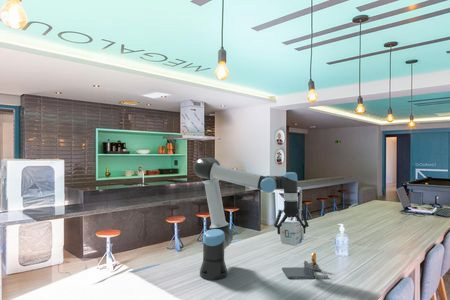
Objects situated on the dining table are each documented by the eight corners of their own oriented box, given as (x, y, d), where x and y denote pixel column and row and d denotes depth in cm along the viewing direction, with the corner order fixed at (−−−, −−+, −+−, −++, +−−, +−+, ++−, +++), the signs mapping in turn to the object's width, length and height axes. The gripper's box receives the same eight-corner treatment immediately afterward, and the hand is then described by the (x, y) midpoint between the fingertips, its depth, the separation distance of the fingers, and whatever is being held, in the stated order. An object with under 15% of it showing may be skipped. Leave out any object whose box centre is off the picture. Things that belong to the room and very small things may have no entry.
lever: (311, 270, 175) (311, 254, 175) (309, 267, 179) (309, 252, 179) (318, 270, 176) (318, 254, 176) (315, 267, 180) (316, 252, 180)
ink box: (288, 240, 175) (287, 219, 176) (302, 242, 170) (301, 221, 170) (281, 243, 169) (280, 222, 169) (295, 246, 163) (294, 224, 164)
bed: (287, 278, 164) (287, 269, 164) (281, 269, 177) (281, 260, 177) (313, 278, 165) (313, 269, 165) (306, 269, 178) (306, 260, 178)
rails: (315, 278, 164) (315, 275, 164) (305, 267, 180) (306, 265, 180) (328, 278, 165) (328, 275, 165) (318, 267, 181) (318, 265, 181)
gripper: (270, 201, 166) (271, 242, 166) (314, 200, 167) (315, 241, 166) (268, 199, 174) (268, 238, 173) (310, 199, 174) (310, 237, 174)
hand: (291, 239), depth 170 cm, fingers closed on ink box, 11 cm apart
